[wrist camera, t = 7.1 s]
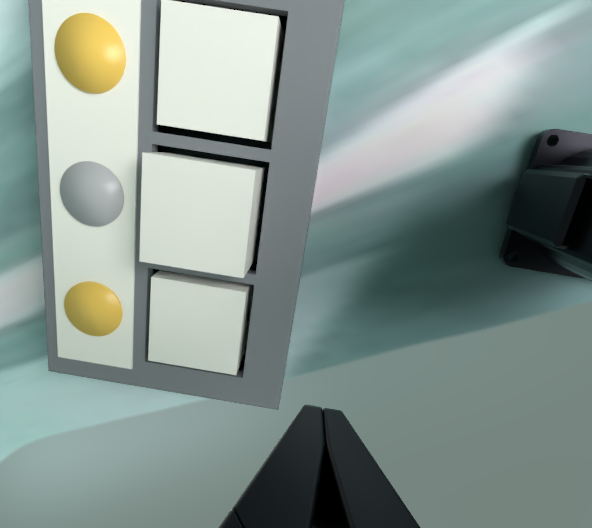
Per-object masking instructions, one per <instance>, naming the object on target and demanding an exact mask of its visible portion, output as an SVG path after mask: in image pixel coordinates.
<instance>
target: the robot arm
mask: <svg viewBox="0 0 592 528" xmlns="http://www.w3.org/2000/svg"><path fill="white" fill-rule="evenodd" d="M549 136H552V137H553V143H552V145H550V146H548V144H547V139H548V137H549ZM506 224H507V226H508V230H507V233H506V236H505V239H504V242H503V245H502V248H501V251H500V260H501V261H502V262H503V263H504V264H506V265H508V266H511V267H518V268H524V269H530V270H536V271H542V272H549V273H555V274H561V275H567V276H573V277H580V278H586V279H589V280H591V281H592V134H586V133H579V132H573V131H566V130H560V129H550V130H545V131H543V132H542V133H541V134H540V135H539V136H538V138H537V140H536V143H535V146H534V149H533V152H532V156H531V159H530V162H529V165H528V168H527V170H526V171H525V172H523V173H522V175H521V178H520V181H519V184H518V188H517V191H516V194H515V197H514V200H513V203H512V206H511V209H510V212H509V216H508V219H507V222H506ZM512 252H515V256H514V258H512V259H508V256H509V254H510V253H512ZM219 528H420V527H419V525H418V524H417V522H416V521H415V519H414V518H413V516H412V515H411V513H410V512H409V510H408V509H407V507H406V506H405V504H404V503H403V501H402V500H401V498H400V497H399V495H398V494H397V492H396V491H395V489H394V488H393V486H392V485H391V484H390V482H389V481H388V479H387V478H386V476H385V475H384V473H383V472H382V470H381V469H380V467H379V466H378V464H377V463H376V461H375V460H374V458H373V457H372V455H371V454H370V452H369V451H368V449H367V448H366V447H365V445H364V443H363V442H362V441H361V439H360V438H359V436H358V435H357V433H356V432H355V430H354V429H353V427H352V426H351V424H350V423H349V421H348V420H347V418H346V417H345V415H344V414H343V413H342V412H341V411H340V410H335V409H329V408H325V409H323V410H322V408H321V407H317V406H311V405H304V406H303V408H302V409H301V411H300V412H299V413H298V415H297V416H296V418H295V419H294V421H293V422H292V423H291V425H290V426H289V428H288V429H287V431H286V432H285V434H284V435H283V437H282V438H281V439H280V441H279V442H278V444H277V445H276V447H275V448H274V449H273V451H272V452H271V454H270V455H269V457H268V458H267V459H266V461H265V462H264V464H263V465H262V467H261V468H260V470H259V471H258V472H257V474H256V475H255V477H254V478H253V480H252V481H251V482H250V484H249V485H248V487H247V488H246V490H245V491H244V493H243V494H242V495H241V497H240V498H239V500H238V501H237V503H236V504H235V506H234V507H233V509H232V511H230V512H229V514H228V515H227V517H226V518H225V520H224V521H223V523H222V524H221V525H220V527H219Z"/></svg>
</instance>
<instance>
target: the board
mask: <svg viewBox="0 0 592 528" xmlns="http://www.w3.org/2000/svg"><path fill="white" fill-rule="evenodd" d="M182 1H188V2H195V3H201V4H208V5H215V6H221V7H228V8H235V9H241V10H248V11H255V12H261V13H268V14H275V15H281V16H288V19H287V27H286V35H285V43H284V51H283V59H282V67H281V75H280V83H279V91H278V99H277V107H276V115H275V123H274V131H273V140H272V148H271V150H270V149H263V148H257V147H251V146H244V145H238V144H231V143H225V142H219V141H212V140H206V139H200V138H193V137H187V136H180V135H174V134H168V133H161V132H158V127H159V125H158V124H157V104H158V76H159V49H160V22H161V0H29V17H30V35H31V54H32V73H33V91H34V110H35V128H36V147H37V165H38V184H39V202H40V221H41V239H42V258H43V276H44V295H45V313H46V332H47V351H48V369H49V371H52V372H58V373H64V374H70V375H76V376H82V377H88V378H93V379H99V380H105V381H111V382H117V383H123V384H129V385H135V386H141V387H146V388H152V389H158V390H164V391H170V392H176V393H182V394H188V395H194V396H200V397H205V398H211V399H217V400H224V401H229V402H235V403H241V404H247V405H253V406H259V407H264V408H270V409H276V410H278V408H279V403H280V397H281V391H282V385H283V379H284V373H285V366H286V360H287V354H288V348H289V342H290V335H291V329H292V323H293V317H294V311H295V305H296V298H297V292H298V286H299V280H300V274H301V268H302V261H303V255H304V249H305V243H306V237H307V230H308V224H309V218H310V212H311V206H312V200H313V193H314V187H315V181H316V175H317V169H318V162H319V156H320V150H321V144H322V138H323V132H324V125H325V119H326V113H327V107H328V101H329V94H330V88H331V82H332V76H333V70H334V64H335V57H336V51H337V45H338V39H339V33H340V26H341V20H342V14H343V8H344V2H345V0H182ZM158 145H163V146H169V147H175V148H182V149H188V150H194V151H201V152H207V153H213V154H220V155H226V156H232V157H239V158H245V159H251V160H258V161H264V162H270V164H269V172H268V180H267V188H266V196H265V204H264V212H263V220H262V228H261V236H260V244H259V252H258V260H257V268H256V271H255V270H248V272H247V273H246V275H245V276H244V278H238V277H232V276H226V275H220V274H214V273H208V272H201V271H195V270H189V269H183V268H177V267H171V266H165V265H159V264H152V263H146V262H140V261H139V256H140V219H141V181H142V152H158ZM153 269H159V270H165V271H171V272H177V273H184V274H190V275H196V276H202V277H208V278H214V279H220V280H226V281H232V282H239V283H245V284H251V285H254V292H253V300H252V308H251V316H250V325H249V333H248V341H247V349H246V357H245V360H242V362H241V364H240V367H239V369H238V372H237V375H231V374H226V373H220V372H214V371H208V370H202V369H196V368H190V367H184V366H178V365H172V364H166V363H160V362H154V361H148V349H149V322H150V294H151V276H153Z"/></svg>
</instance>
